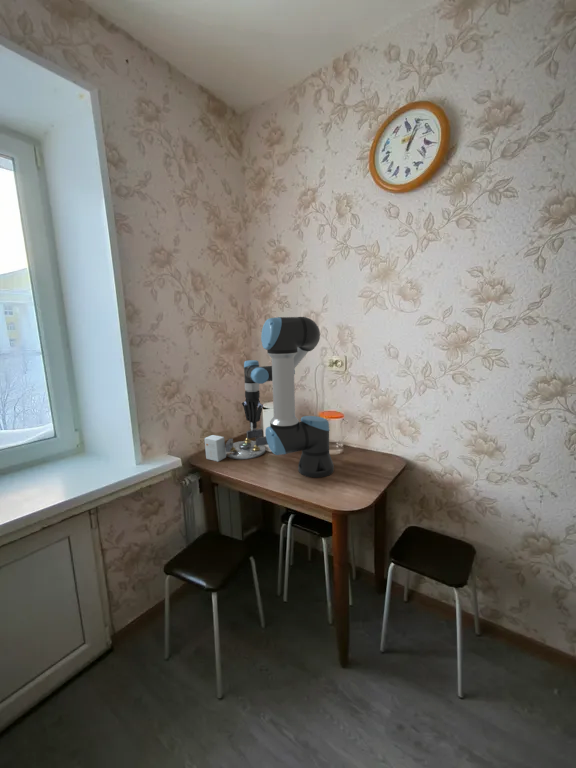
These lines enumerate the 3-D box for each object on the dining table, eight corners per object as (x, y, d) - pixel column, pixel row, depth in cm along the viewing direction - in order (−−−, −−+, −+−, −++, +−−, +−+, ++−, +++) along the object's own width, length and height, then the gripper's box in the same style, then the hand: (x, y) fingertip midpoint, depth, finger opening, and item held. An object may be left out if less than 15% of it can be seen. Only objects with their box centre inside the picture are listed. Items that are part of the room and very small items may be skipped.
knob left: (228, 448, 165) (228, 437, 164) (236, 448, 165) (235, 437, 164) (224, 456, 155) (223, 444, 154) (231, 456, 155) (231, 444, 154)
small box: (226, 457, 159) (224, 436, 157) (218, 462, 155) (216, 440, 153) (214, 454, 164) (212, 434, 162) (205, 458, 159) (204, 437, 157)
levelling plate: (273, 448, 169) (272, 440, 169) (248, 462, 153) (247, 454, 152) (243, 441, 180) (242, 435, 179) (216, 454, 164) (216, 447, 163)
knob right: (245, 443, 171) (244, 432, 170) (243, 441, 174) (242, 430, 173) (263, 440, 174) (262, 430, 173) (261, 438, 177) (260, 428, 176)
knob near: (253, 451, 160) (252, 439, 159) (252, 448, 164) (251, 437, 163) (273, 449, 162) (272, 437, 161) (271, 446, 166) (271, 435, 165)
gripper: (266, 390, 171) (267, 433, 175) (247, 387, 178) (248, 429, 182) (257, 393, 165) (258, 438, 169) (238, 390, 171) (239, 433, 176)
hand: (253, 433), depth 176 cm, fingers closed
